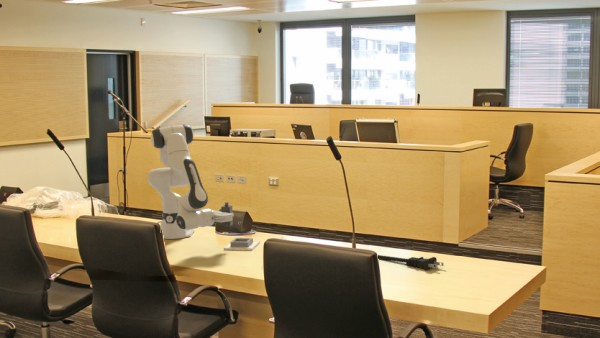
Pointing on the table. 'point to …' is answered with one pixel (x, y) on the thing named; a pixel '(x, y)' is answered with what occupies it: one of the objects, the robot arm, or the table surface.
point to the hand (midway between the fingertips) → (228, 213)
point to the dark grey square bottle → (227, 209)
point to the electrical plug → (415, 262)
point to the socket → (241, 244)
